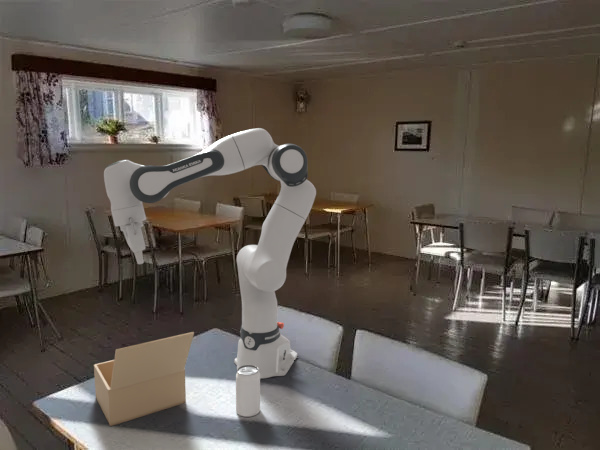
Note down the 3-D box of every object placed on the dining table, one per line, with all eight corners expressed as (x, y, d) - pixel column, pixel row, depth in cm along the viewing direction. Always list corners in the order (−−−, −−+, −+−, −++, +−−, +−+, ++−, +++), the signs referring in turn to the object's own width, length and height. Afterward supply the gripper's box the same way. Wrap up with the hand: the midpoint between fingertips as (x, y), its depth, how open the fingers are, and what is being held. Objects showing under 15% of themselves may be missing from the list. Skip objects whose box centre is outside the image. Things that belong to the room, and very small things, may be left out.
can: (256, 419, 124) (256, 377, 122) (232, 416, 125) (232, 374, 123) (262, 406, 130) (263, 365, 128) (240, 403, 131) (240, 362, 129)
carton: (95, 397, 132) (93, 364, 131) (165, 378, 144) (164, 347, 142) (110, 426, 119) (108, 390, 118) (185, 402, 131) (184, 369, 129)
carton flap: (115, 349, 109) (116, 350, 109) (193, 331, 120) (194, 332, 120) (110, 389, 118) (110, 390, 118) (183, 369, 129) (183, 370, 128)
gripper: (143, 215, 128) (155, 264, 130) (138, 214, 147) (148, 257, 149) (119, 221, 126) (131, 270, 128) (116, 218, 145) (127, 262, 146)
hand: (140, 263), depth 138 cm, fingers closed
